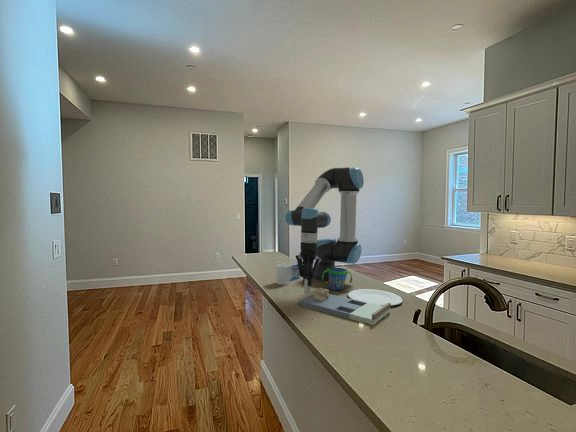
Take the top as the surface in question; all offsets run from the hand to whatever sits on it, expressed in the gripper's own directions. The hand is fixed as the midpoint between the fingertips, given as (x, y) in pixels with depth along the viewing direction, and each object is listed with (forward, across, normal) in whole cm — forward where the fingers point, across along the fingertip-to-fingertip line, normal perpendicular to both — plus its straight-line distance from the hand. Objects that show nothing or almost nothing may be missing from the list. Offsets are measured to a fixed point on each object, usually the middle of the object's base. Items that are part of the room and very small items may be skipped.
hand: (307, 292), depth 147 cm
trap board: (+3, +19, 0) cm, 19 cm away
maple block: (+1, +8, 0) cm, 8 cm away
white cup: (+4, -25, +15) cm, 30 cm away
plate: (+4, +24, +23) cm, 33 cm away
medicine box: (+4, -27, +27) cm, 39 cm away
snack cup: (+3, +2, +26) cm, 26 cm away
